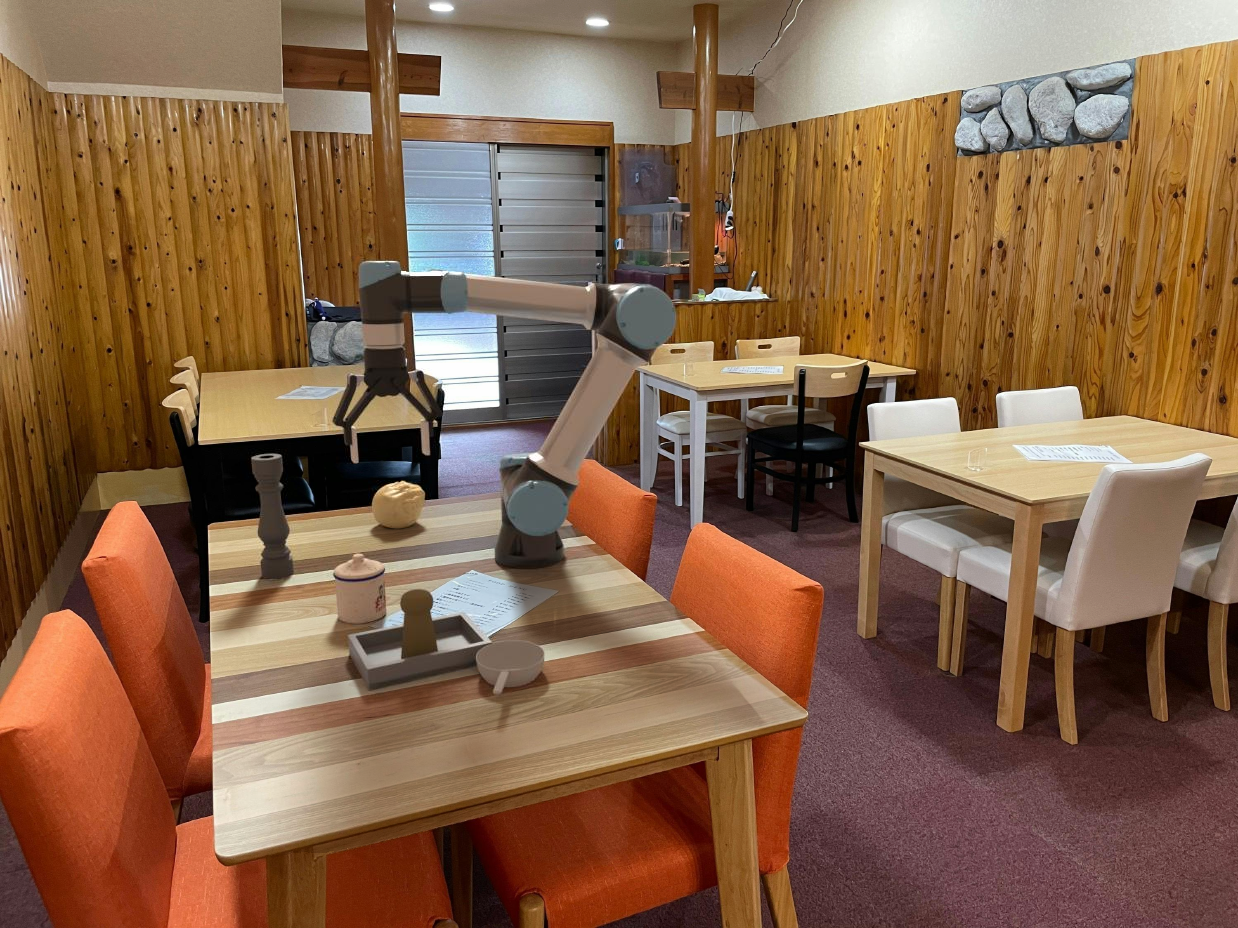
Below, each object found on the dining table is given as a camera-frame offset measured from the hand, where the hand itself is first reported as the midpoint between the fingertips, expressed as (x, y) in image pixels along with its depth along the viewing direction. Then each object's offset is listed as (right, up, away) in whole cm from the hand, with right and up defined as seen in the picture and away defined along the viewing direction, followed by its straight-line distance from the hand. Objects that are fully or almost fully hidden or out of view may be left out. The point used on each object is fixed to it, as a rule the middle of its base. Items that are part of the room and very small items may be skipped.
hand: (391, 457), depth 168 cm
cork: (+11, -33, -24) cm, 42 cm away
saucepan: (+26, -36, -32) cm, 55 cm away
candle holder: (-27, -24, +14) cm, 39 cm away
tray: (+11, -33, -23) cm, 42 cm away
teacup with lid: (-4, -29, -5) cm, 29 cm away
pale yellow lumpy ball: (-10, -16, +47) cm, 51 cm away
